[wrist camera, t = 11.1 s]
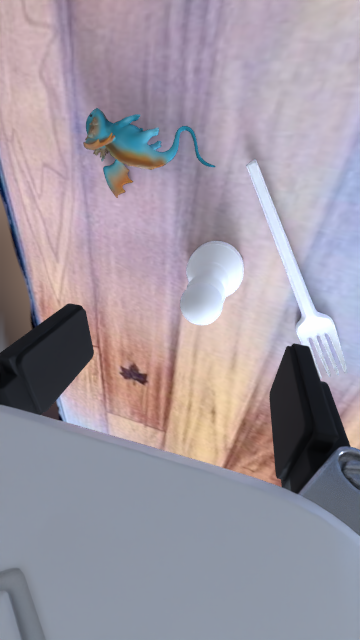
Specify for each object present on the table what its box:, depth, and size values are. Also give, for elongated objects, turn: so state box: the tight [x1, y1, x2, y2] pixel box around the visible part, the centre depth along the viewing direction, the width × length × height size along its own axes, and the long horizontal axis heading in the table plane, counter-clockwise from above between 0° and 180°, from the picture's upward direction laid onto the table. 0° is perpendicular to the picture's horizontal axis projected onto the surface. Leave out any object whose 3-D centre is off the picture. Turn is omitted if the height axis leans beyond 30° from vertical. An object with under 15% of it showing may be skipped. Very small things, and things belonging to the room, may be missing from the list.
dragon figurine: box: [84, 108, 215, 198], centre depth 17 cm, size 6×7×8 cm
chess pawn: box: [180, 241, 244, 325], centre depth 18 cm, size 5×5×9 cm
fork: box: [246, 159, 347, 378], centre depth 20 cm, size 3×20×2 cm, turn 30°
